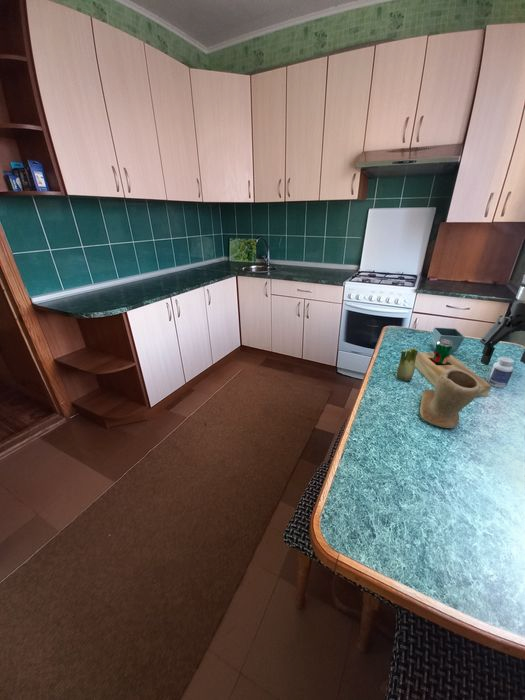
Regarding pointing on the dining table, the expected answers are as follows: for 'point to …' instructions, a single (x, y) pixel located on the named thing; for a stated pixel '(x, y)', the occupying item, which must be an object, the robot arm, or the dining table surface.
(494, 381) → the pill bottle
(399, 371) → the fennel bulb
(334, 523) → the dining table surface
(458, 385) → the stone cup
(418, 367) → the socket block
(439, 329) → the flower pot
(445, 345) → the soda can
